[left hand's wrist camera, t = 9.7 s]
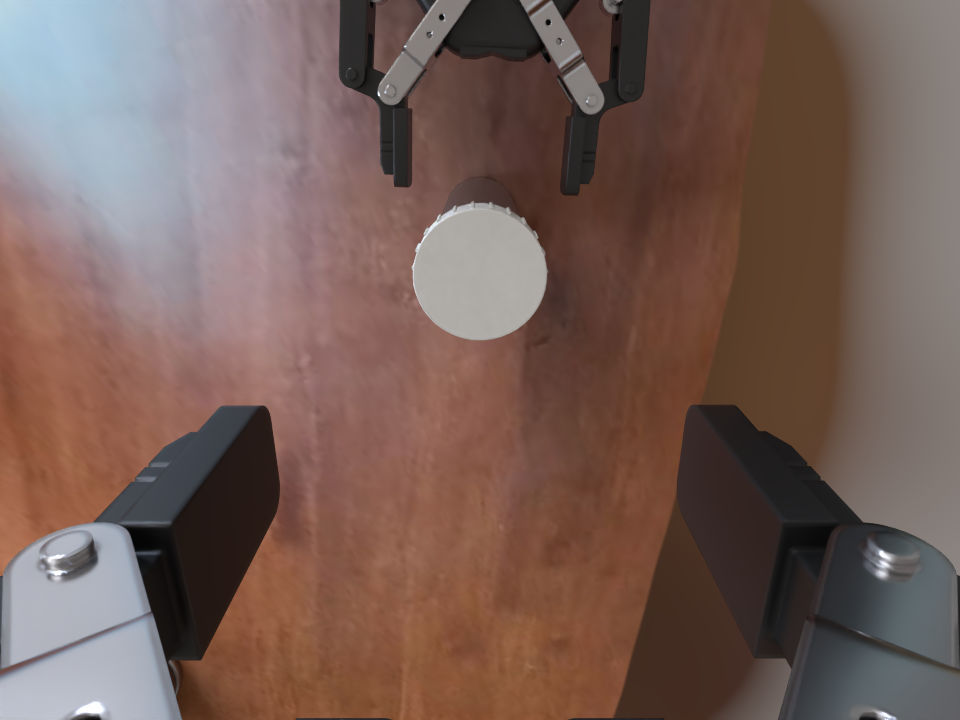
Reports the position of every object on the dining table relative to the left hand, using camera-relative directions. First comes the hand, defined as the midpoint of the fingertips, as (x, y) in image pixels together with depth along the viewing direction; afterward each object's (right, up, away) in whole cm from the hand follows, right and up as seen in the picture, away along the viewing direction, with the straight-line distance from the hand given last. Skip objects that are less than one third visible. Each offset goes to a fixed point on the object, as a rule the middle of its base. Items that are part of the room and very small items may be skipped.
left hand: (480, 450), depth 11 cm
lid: (0, +5, +13) cm, 13 cm away
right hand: (0, +10, +21) cm, 23 cm away
